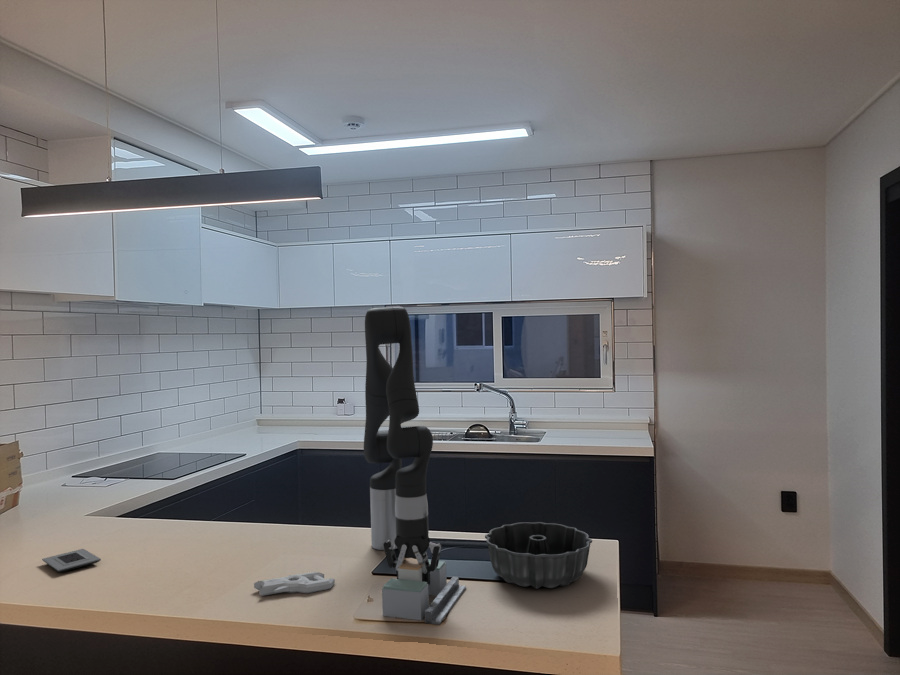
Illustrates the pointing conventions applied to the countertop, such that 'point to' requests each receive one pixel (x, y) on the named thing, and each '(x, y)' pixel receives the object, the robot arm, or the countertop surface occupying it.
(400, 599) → the block
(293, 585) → the grey flat plastic piece
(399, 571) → the block
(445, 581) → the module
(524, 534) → the bundt pan
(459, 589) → the rail
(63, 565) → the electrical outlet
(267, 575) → the countertop surface
